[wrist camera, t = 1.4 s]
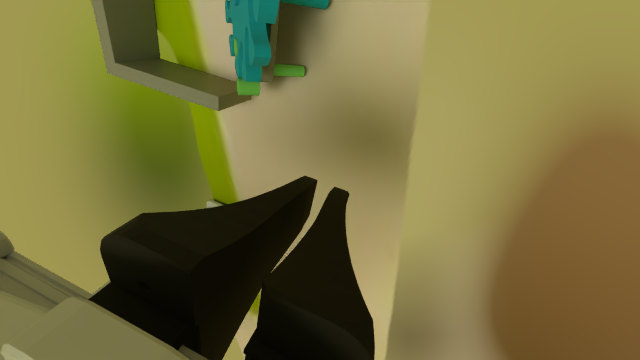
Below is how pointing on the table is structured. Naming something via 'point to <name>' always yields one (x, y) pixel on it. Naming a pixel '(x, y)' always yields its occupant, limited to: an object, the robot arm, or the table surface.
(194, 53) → the table surface
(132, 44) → the housing
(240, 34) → the gear
